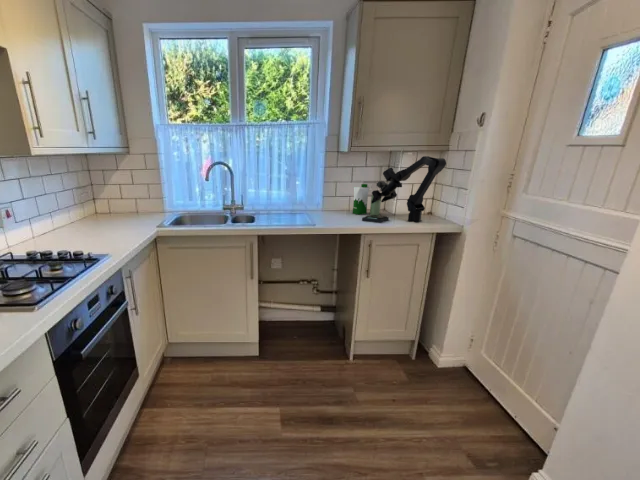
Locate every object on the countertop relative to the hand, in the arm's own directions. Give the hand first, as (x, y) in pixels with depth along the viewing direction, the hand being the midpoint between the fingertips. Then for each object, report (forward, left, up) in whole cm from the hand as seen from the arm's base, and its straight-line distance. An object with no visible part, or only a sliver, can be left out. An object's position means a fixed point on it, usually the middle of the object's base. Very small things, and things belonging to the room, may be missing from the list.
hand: (376, 202), depth 247 cm
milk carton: (+11, +3, -9) cm, 14 cm away
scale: (-10, +22, -8) cm, 25 cm away
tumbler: (+1, 0, -8) cm, 8 cm away
